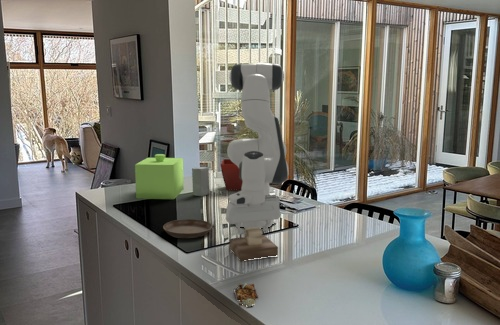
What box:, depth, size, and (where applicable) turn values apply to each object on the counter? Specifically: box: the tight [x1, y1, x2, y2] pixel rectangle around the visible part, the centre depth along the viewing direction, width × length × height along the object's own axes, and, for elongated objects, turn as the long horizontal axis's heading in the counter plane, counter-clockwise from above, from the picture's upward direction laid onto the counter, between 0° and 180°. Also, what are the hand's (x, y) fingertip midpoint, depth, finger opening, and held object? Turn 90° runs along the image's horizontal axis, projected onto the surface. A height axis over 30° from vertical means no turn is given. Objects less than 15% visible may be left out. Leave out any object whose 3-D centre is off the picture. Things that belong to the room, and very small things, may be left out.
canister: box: [134, 153, 185, 200], centre depth 261 cm, size 25×21×23 cm
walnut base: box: [229, 234, 279, 262], centre depth 168 cm, size 14×14×4 cm
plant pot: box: [220, 158, 243, 191], centre depth 276 cm, size 19×19×17 cm
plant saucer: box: [162, 218, 213, 239], centre depth 192 cm, size 21×21×3 cm
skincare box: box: [191, 166, 210, 197], centre depth 260 cm, size 8×7×16 cm
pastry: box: [234, 282, 259, 308], centre depth 132 cm, size 7×12×4 cm, turn 13°
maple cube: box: [244, 227, 263, 245], centre depth 168 cm, size 5×5×5 cm
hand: (253, 232), depth 168 cm, fingers open, 8 cm apart
